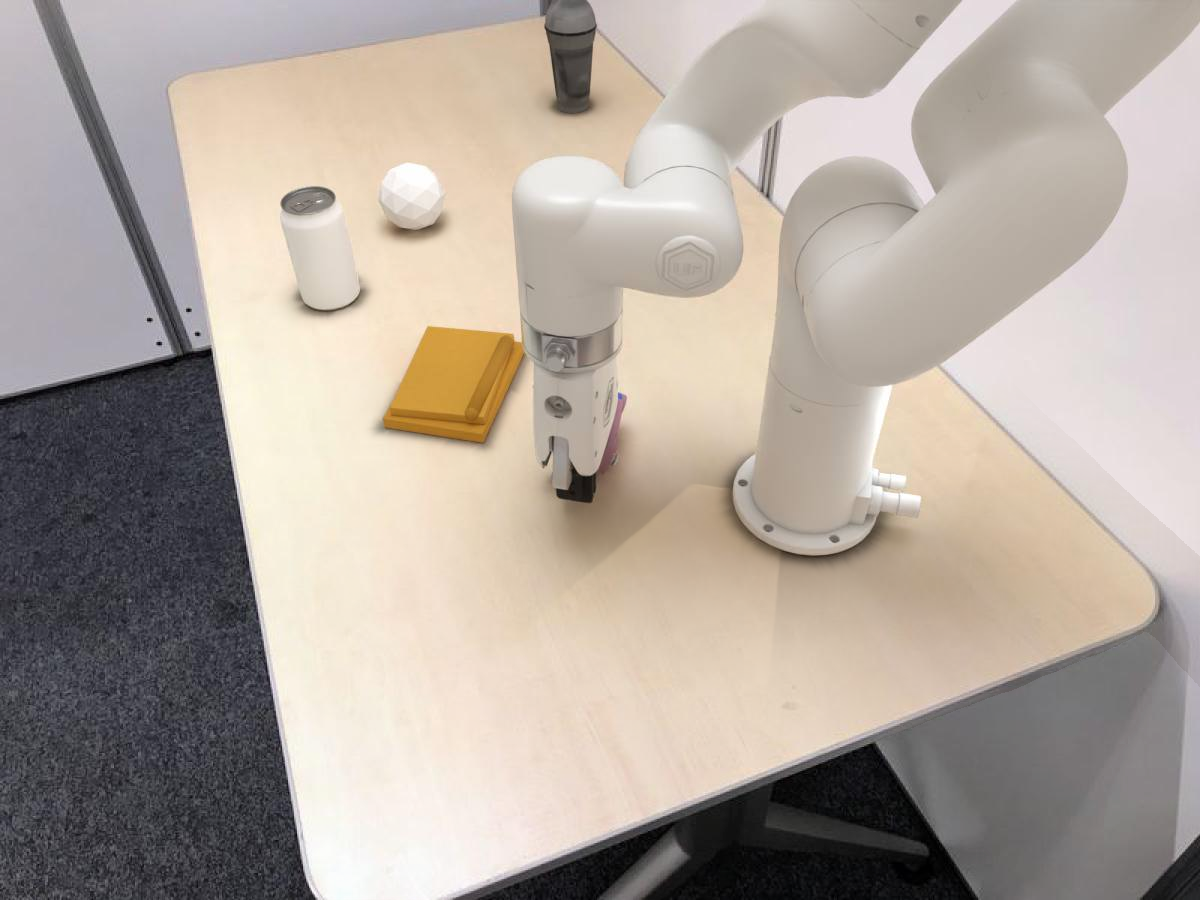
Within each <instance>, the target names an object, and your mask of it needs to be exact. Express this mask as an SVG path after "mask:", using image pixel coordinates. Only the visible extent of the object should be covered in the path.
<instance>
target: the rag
mask: <svg viewBox="0 0 1200 900" xmlns="http://www.w3.org/2000/svg"><path fill="white" fill-rule="evenodd" d="M524 355H525V352H524V350H523V347H522V341H521V342H520V341H515V334H514V333H509V332H500V331H499V332H497V331H487V330H477V329H476V330H475V329H467V328H465V329H464V328H455V327H454V328H453V327H442V326H433V325H427V326H426V329H425V331H424V333H423V335H422V337H421V340H420V341H419V344H418V346H417V348H416V350H415V353H414V355H413V357H412V359H411V361H410V363H409V365H408V367H407V369H406V372H405V374H404V376H403V378H402V381H401V383H400V385H399V387H398V389H397V392H396V393H395V396H394V397H393V400H392V401H391V403H390V405H389V406H388V408H387V410H386V412H385V413H384V415H383V417H382V421H383V425H384V428H387V429H393V430H400V431H406V432H410V433H411V432H412V433H419V434H425V435H431V436H437V437H444V438H450V439H456V440H463V441H470V442H476V443H482V444H483V443H485V440H486V438H487V436H488V434H489V432H490V430H491V427H492V425H493V423H494V421H495V419H496V416H497V414H498V412H499V410H500V408H501V405H502V403H503V401H504V399H505V396H506V395H507V392H508V390H509V387H510V385H511V383H512V381H513V379H514V376H515V375H516V372H517V370H518V368H519V366H520V363H521V362H522V359H523V356H524Z"/></svg>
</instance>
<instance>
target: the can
mask: <svg viewBox="0 0 1200 900" xmlns="http://www.w3.org/2000/svg"><path fill="white" fill-rule="evenodd" d="M279 204H280V207H281V209H280V214H279V219H280V224H281V228H282V232H283V236H284V239H285V244H286V247H287V249H288V253H289V257H290V261H291V264H292V268H293V272H294V276H295V279H296V282H297V285H298V289H299V293H300V297H301V299H302V301H303V303H304V304H306V305H307V306H308V307H310V308H312V309H314V310H317V311H324V312H325V311H326V312H328V311H329V312H330V311H336V310H340V309H343V308H345V307H348V306H349V305H351V304H352V303H353V302H354V301H355V300H356V299H357V298H358V296H359V294H360V292H361V284H360V280H359V276H358V272H357V267H356V261H355V257H354V253H353V250H352V249H353V248H352V244H351V239H350V235H349V231H348V225H347V222H346V217H345V214H344V209H343V207H342V205H341V203H340V202H339V201H338V200H337V197H336V193H335V192H334V191H333V190H332V189H330V188H328V187H325V186H318V185H310V186H302V187H299V188H298V187H297V188H295V189H293V190H291V191H289V192H287V193H286V194H285V195H284V196H283V197H282V198H281V200H280V203H279Z"/></svg>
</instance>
